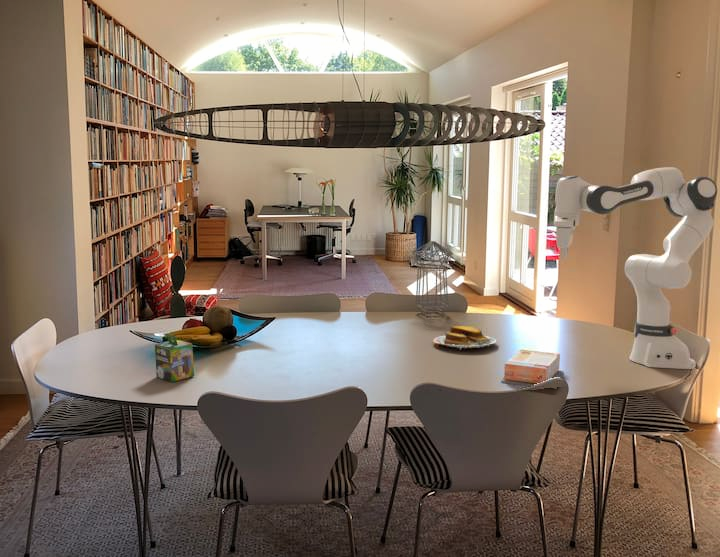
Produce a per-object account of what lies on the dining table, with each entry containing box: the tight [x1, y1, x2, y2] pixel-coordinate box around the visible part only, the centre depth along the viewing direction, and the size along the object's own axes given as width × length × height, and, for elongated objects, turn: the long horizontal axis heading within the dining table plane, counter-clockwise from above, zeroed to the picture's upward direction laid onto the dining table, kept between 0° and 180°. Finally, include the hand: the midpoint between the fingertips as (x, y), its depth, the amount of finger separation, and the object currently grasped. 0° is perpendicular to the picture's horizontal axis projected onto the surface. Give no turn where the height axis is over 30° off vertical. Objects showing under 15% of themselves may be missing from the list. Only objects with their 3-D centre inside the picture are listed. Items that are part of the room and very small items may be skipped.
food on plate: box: [432, 325, 498, 350], centre depth 287 cm, size 25×25×7 cm
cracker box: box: [503, 349, 561, 384], centre depth 246 cm, size 14×6×21 cm
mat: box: [501, 370, 565, 387], centre depth 245 cm, size 18×20×1 cm
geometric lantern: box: [411, 240, 454, 318], centre depth 340 cm, size 16×16×35 cm
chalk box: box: [154, 333, 195, 383], centre depth 241 cm, size 9×9×15 cm
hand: (564, 258), depth 267 cm, fingers closed
